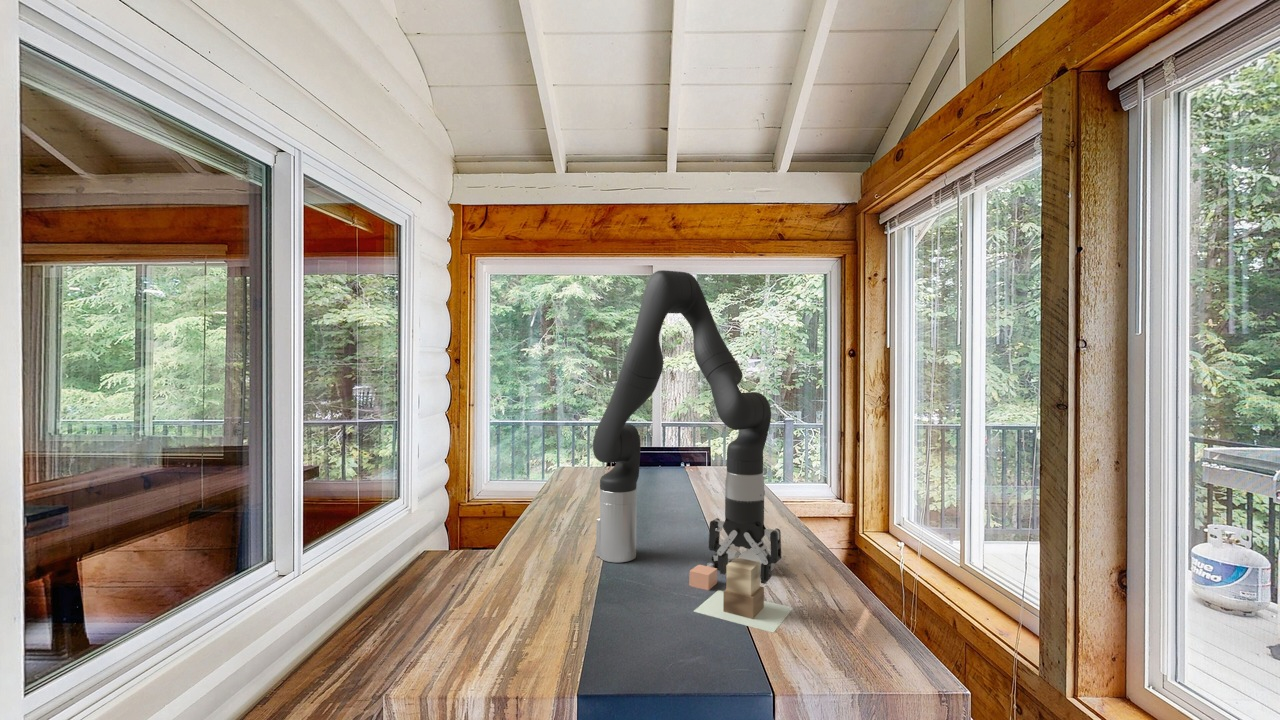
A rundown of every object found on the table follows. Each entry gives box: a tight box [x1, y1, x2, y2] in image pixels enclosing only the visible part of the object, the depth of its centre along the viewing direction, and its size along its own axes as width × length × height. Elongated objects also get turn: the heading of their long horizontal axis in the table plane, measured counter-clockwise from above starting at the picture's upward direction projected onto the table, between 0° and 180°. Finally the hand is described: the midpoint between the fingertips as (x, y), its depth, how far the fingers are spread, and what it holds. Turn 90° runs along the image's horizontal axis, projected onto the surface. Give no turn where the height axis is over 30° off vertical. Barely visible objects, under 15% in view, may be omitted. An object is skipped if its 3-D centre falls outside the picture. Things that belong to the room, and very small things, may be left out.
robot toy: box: [706, 548, 776, 577], centre depth 136 cm, size 12×4×15 cm
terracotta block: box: [688, 564, 718, 591], centre depth 125 cm, size 4×4×4 cm
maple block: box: [725, 557, 761, 596], centre depth 113 cm, size 5×5×5 cm
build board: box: [693, 589, 794, 634], centre depth 113 cm, size 16×12×1 cm
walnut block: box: [723, 585, 765, 619], centre depth 113 cm, size 6×6×4 cm
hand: (743, 577), depth 113 cm, fingers open, 8 cm apart
